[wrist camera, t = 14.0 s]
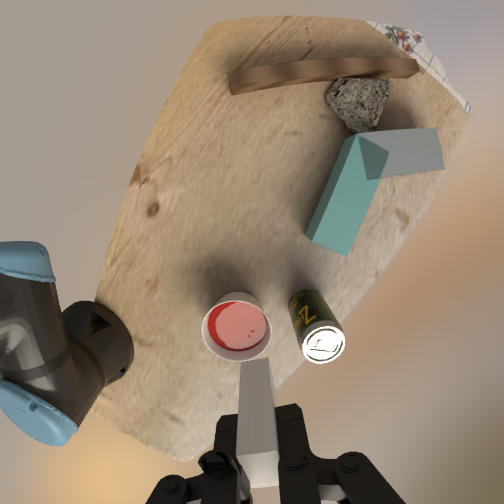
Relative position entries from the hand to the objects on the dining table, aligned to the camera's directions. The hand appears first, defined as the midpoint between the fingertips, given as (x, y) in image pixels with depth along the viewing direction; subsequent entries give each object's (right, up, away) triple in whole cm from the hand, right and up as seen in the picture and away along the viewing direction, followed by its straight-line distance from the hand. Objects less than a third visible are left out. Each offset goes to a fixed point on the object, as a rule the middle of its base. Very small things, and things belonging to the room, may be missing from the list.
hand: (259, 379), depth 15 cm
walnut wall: (+10, +32, +20) cm, 39 cm away
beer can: (+8, -1, +27) cm, 28 cm away
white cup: (-2, -2, +28) cm, 28 cm away
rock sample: (+14, +28, +21) cm, 38 cm away
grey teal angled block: (+16, +16, +23) cm, 33 cm away
